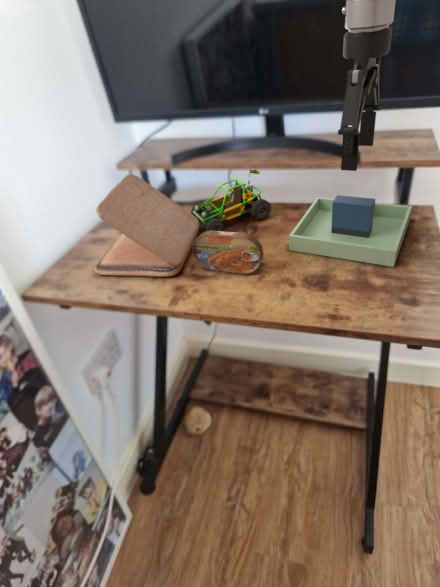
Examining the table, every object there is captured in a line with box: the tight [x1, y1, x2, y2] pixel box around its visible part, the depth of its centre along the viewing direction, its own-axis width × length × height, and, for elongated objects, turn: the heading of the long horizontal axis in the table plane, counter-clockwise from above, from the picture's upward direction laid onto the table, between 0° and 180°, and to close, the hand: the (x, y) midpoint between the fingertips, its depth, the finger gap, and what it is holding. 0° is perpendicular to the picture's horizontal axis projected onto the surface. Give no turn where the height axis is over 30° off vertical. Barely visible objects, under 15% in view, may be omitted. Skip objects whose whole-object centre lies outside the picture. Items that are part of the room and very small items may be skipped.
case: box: [94, 174, 201, 278], centre depth 89 cm, size 20×21×16 cm
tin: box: [191, 230, 265, 275], centre depth 82 cm, size 15×3×8 cm, turn 68°
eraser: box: [331, 194, 376, 238], centre depth 87 cm, size 8×4×8 cm, turn 62°
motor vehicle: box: [190, 169, 272, 232], centre depth 100 cm, size 12×19×11 cm, turn 115°
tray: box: [288, 196, 413, 268], centre depth 88 cm, size 21×19×4 cm
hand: (357, 157), depth 79 cm, fingers open, 13 cm apart
